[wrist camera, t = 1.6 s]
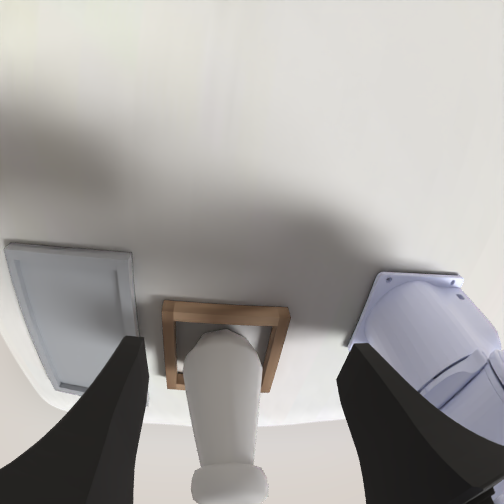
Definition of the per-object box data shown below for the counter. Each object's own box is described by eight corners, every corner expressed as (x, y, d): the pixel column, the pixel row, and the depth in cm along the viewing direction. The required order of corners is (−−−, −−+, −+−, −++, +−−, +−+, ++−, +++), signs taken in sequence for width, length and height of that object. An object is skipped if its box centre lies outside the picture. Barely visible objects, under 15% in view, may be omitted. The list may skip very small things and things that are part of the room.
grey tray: (131, 252, 19) (128, 260, 18) (149, 398, 27) (148, 406, 26) (10, 242, 18) (3, 249, 17) (57, 382, 25) (54, 390, 24)
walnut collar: (287, 307, 23) (290, 317, 22) (267, 382, 27) (269, 392, 26) (163, 299, 21) (161, 310, 20) (168, 378, 25) (167, 388, 24)
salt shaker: (208, 378, 26) (212, 519, 14) (170, 337, 23) (154, 500, 12) (270, 355, 25) (298, 505, 14) (238, 309, 22) (257, 487, 11)
